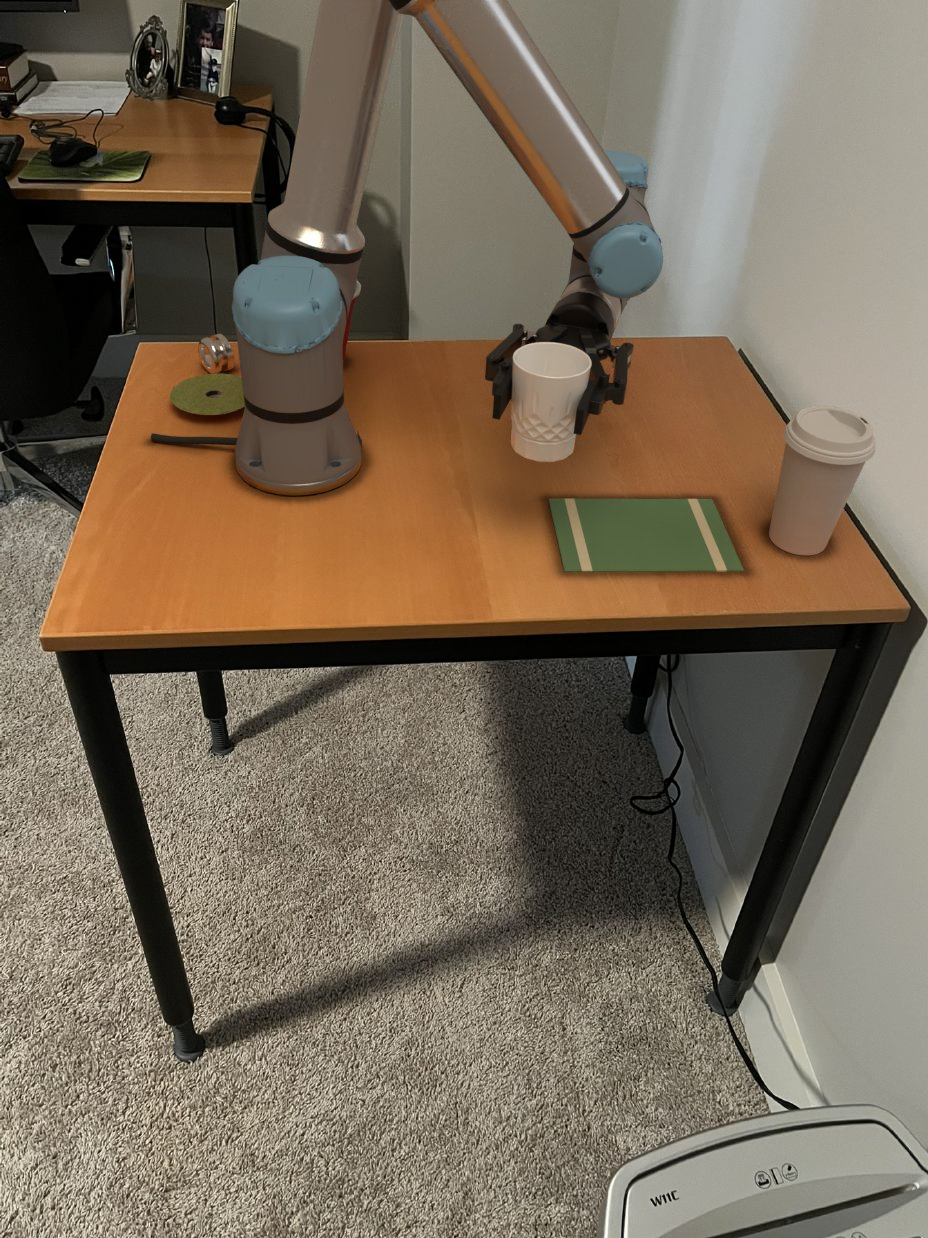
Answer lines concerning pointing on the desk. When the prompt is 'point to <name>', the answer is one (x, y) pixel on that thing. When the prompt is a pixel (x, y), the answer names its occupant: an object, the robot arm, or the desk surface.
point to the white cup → (546, 399)
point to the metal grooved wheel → (216, 353)
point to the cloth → (642, 536)
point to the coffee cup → (818, 476)
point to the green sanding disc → (209, 394)
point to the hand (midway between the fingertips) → (537, 414)
